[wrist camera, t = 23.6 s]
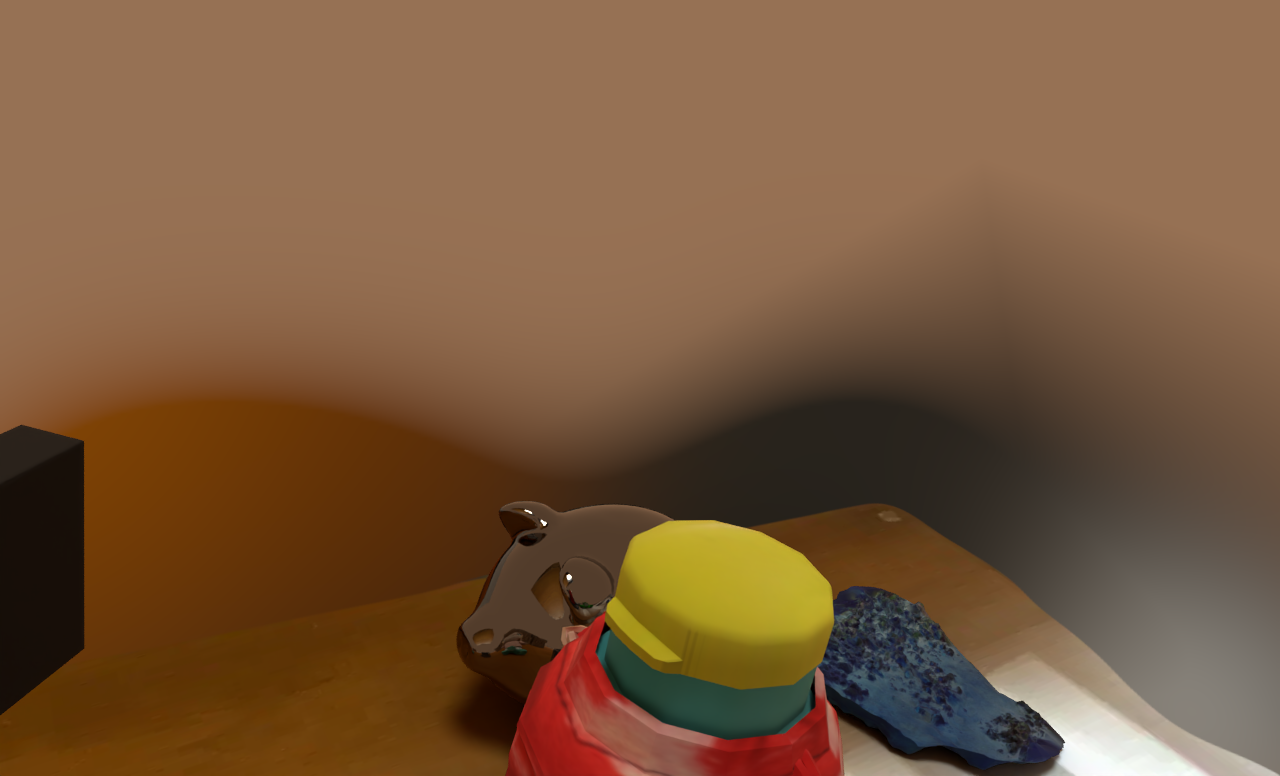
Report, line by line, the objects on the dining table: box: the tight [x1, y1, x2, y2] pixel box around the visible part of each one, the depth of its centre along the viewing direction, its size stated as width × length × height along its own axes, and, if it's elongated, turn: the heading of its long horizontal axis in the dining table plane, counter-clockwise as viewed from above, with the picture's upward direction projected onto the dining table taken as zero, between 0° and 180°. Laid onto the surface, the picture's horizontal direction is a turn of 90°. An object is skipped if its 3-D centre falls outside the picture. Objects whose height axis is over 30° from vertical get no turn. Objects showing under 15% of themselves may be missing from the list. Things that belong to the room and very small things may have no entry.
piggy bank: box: [457, 501, 676, 705], centre depth 52 cm, size 11×15×12 cm
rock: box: [817, 586, 1065, 770], centre depth 61 cm, size 15×17×2 cm
